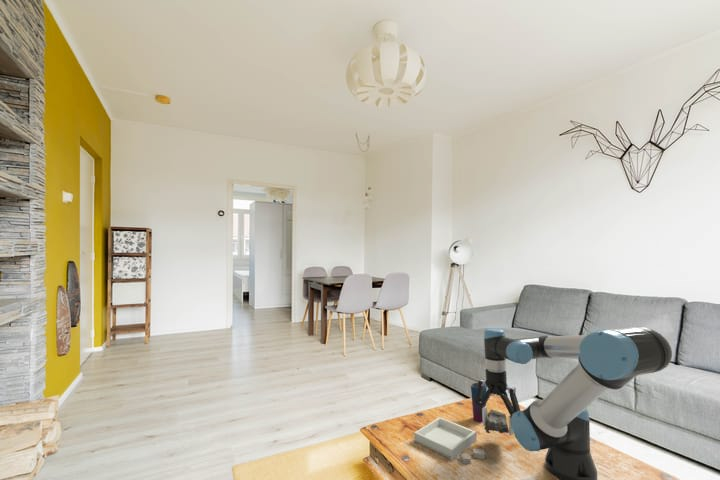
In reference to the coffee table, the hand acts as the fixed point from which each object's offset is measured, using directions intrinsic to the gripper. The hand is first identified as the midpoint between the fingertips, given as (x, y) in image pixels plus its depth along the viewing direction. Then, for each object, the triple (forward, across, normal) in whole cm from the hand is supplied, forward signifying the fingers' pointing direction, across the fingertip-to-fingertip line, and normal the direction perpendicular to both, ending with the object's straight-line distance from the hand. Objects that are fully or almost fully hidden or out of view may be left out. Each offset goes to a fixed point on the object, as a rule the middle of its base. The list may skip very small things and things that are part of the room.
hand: (498, 428), depth 131 cm
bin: (+7, +17, +11) cm, 21 cm away
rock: (+1, +1, 0) cm, 2 cm away
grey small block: (+7, +3, +11) cm, 13 cm away
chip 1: (+7, +5, +17) cm, 19 cm away
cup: (+7, +16, -15) cm, 23 cm away
